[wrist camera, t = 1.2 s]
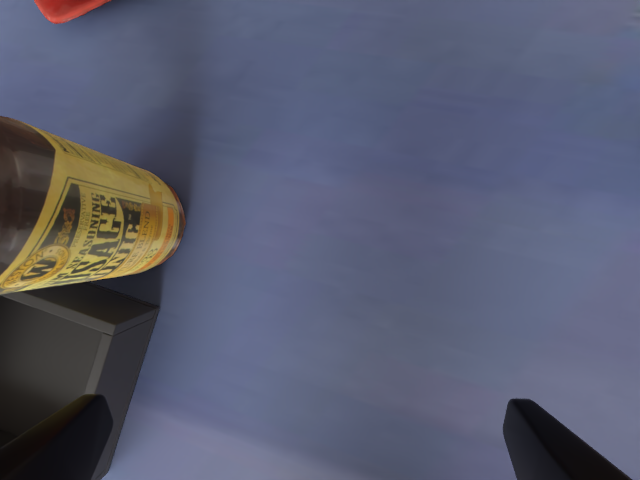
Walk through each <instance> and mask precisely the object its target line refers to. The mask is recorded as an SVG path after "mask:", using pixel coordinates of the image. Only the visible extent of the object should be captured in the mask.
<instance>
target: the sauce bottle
mask: <svg viewBox="0 0 640 480" xmlns="http://www.w3.org/2000/svg"><path fill="white" fill-rule="evenodd" d="M185 224H186V222H185V215H184V211H183V209H182V205H181V203H180V201H179V198H178V196H177V194H176V192H175V191H174V190H173V188H172V187H170V186H169V185H168V184H167V183H165V182H163V181H162V180H161V179H160V178H159V177H157V176H156V175H154V174H153V173H151V172H149V171H147V170H144V169H141V168H138V167H136V166H133V165H131V164H128V163H126V162H123V161H120V160H118V159H115V158H112V157H110V156H107V155H105V154H102V153H99V152H97V151H94V150H92V149H89V148H87V147H84V146H82V145H79V144H77V143H74V142H71V141H69V140H66V139H64V138H61V137H59V136H56V135H54V134H51V133H49V132H46V131H44V130H41V129H38V128H36V127H33V126H31V125H28V124H26V123H24V122H21V121H18V120H15V119H11V118H8V117H2V116H0V295H1V294H7V293H11V292H18V291H25V290H33V289H40V288H46V287H53V286H62V285H66V284H72V283H80V282H86V281H93V280H99V279H106V278H112V277H119V276H126V275H132V274H137V273H141V272H144V271H146V270H148V269H150V268H152V267H154V266H156V265H160V264H162V263H163V262H164V261H166V260H167V259H168V258H169V257H171V256H172V255H173V254H174V252H175V251H176V249H177V247H178V245H179V243H180V241H181V238H182V236H183V231H184V227H185Z"/></svg>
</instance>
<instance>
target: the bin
mask: <svg viewBox="0 0 640 480" xmlns="http://www.w3.org/2000/svg"><path fill="white" fill-rule="evenodd" d="M159 309H160V307H158V306H155V305H153V304H150V303H147V302H144V301H141V300H138V299H135V298H133V297H130V296H127V295H124V294H121V293H118V292H115V291H113V290H110V289H107V288H104V287H101V286H98V285H95V284H93V283H90V282H87V281H86V282H80V283H72V284H66V285H62V286H53V287H46V288H40V289H33V290H25V291H18V292H11V293H7V294H1V295H0V448H1V447H3V446H4V445H6V444H7V443H9V442H10V441H12V440H14V439H15V438H17V437H18V436H20V435H21V434H23V433H24V432H26V431H27V430H29V429H31V428H32V427H34V426H35V425H37V424H38V423H40V422H41V421H43V420H45V419H46V418H48V417H49V416H51V415H52V414H54V413H55V412H57V411H58V410H60V409H62V408H63V407H65V406H66V405H68V404H69V403H71V402H72V401H74V400H76V399H77V398H79V397H80V396H82V395H84V394H103V395H104V396H105V397H106V399H107V402H108V405H109V408H110V410H111V413H112V416H113V420H114V425H113V430H112V433H111V435H110V437H109V440H108V442H107V444H106V447H105V449H104V452H103V454H102V456H101V459H100V461H99V463H98V466H97V468H96V470H95V473H94V475H93V477H92V480H101V479H102V478H103V477H104V476H105V475H106V474H107V473H108V471H109V468H110V464H111V461H112V458H113V455H114V452H115V448H116V445H117V442H118V439H119V436H120V433H121V429H122V426H123V423H124V420H125V417H126V414H127V410H128V407H129V404H130V401H131V398H132V395H133V391H134V388H135V385H136V382H137V379H138V375H139V372H140V369H141V366H142V363H143V360H144V356H145V353H146V350H147V347H148V344H149V341H150V337H151V334H152V331H153V328H154V325H155V322H156V318H157V315H158V312H159Z"/></svg>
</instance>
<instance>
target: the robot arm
mask: <svg viewBox="0 0 640 480" xmlns="http://www.w3.org/2000/svg"><path fill="white" fill-rule="evenodd" d="M113 425H114V420H113V416H112V413H111V410H110V408H109V405H108V402H107V399H106V397H105V396H104V395H103V394H84V395H82V396H80V397H79V398H77V399H76V400H74V401H72V402H71V403H69V404H68V405H66V406H65V407H63V408H62V409H60V410H58V411H57V412H55V413H54V414H52V415H51V416H49V417H48V418H46V419H45V420H43V421H41V422H40V423H38V424H37V425H35V426H34V427H32V428H31V429H29V430H27V431H26V432H24V433H23V434H21V435H20V436H18V437H17V438H15V439H14V440H12V441H10V442H9V443H7V444H6V445H4V446H3V447H1V448H0V480H92V477H93V475H94V473H95V470H96V468H97V466H98V463H99V461H100V459H101V456H102V454H103V452H104V449H105V447H106V444H107V442H108V440H109V437H110V435H111V433H112V430H113ZM503 434H504V439H505V442H506V445H507V448H508V451H509V455H510V458H511V461H512V464H513V468H514V471H515V474H516V477H517V480H632V479H631V478H629V477H628V476H627V475H626V474H624V473H623V472H622V471H621V470H619V469H618V468H617V467H616V466H614V465H613V464H612V463H611V462H609V461H608V460H607V459H606V458H604V457H603V456H602V455H601V454H599V453H598V452H597V451H596V450H594V449H593V448H592V447H591V446H589V445H588V444H587V443H585V442H584V441H583V440H582V439H580V438H579V437H578V436H577V435H575V434H574V433H573V432H572V431H570V430H569V429H568V428H567V427H565V426H564V425H563V424H562V423H560V422H559V421H558V420H557V419H555V418H554V417H553V416H552V415H550V414H549V413H548V412H547V411H545V410H544V409H543V408H541V407H540V406H539V405H538V404H536V403H535V402H534V401H532V400H530V399H511V400H510V401H509V402H508V405H507V410H506V414H505V419H504V424H503Z"/></svg>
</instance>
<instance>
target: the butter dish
mask: <svg viewBox="0 0 640 480" xmlns="http://www.w3.org/2000/svg"><path fill="white" fill-rule="evenodd" d="M34 1H35V3H36V4H37V6H38V8H39V9H40V11H41V12H42V13H43V15H44V16H45V17H46V18H47V19H48V20H49V21H51V22H52V23H55V24H58V23H65V22H67V21H70V20H72V19H74V18H77V17H79V16H81V15H84V14H85V13H87V12H89V11H91V10H93V9H95V8H97V7H99V6H101V5H103V4H105V3H107V2H109V1H111V0H34Z"/></svg>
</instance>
